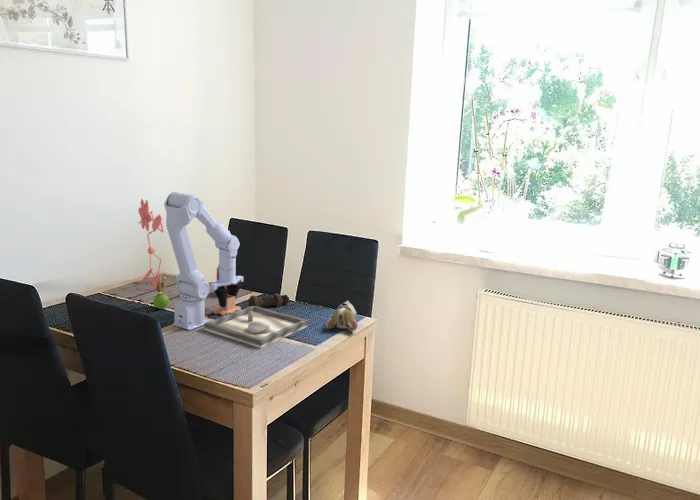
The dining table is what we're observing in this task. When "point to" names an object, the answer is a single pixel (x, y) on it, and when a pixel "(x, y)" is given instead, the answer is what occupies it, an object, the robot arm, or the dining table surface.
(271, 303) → the bolt
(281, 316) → the carrier plate
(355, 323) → the ceramic sculpture
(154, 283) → the figurine
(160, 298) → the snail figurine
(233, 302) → the gear
